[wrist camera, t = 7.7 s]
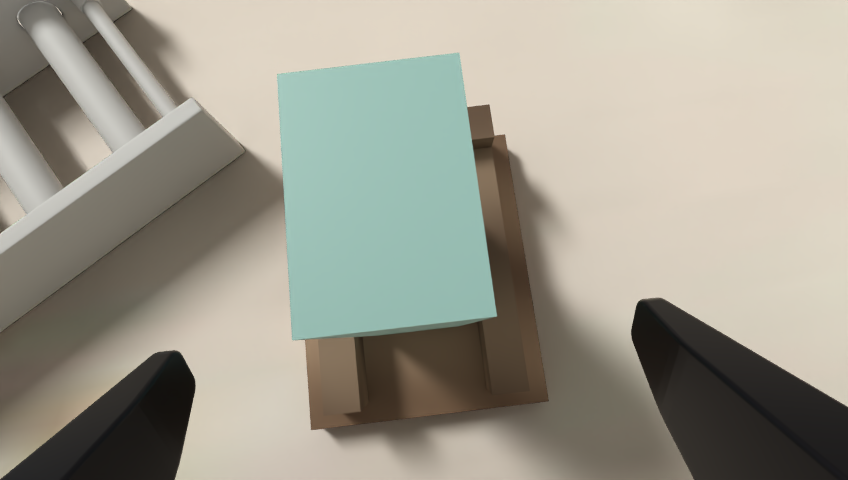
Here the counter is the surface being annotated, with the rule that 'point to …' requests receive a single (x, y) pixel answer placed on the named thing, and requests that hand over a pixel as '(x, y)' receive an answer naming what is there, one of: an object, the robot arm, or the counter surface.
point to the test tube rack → (108, 180)
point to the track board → (444, 332)
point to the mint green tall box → (382, 200)
